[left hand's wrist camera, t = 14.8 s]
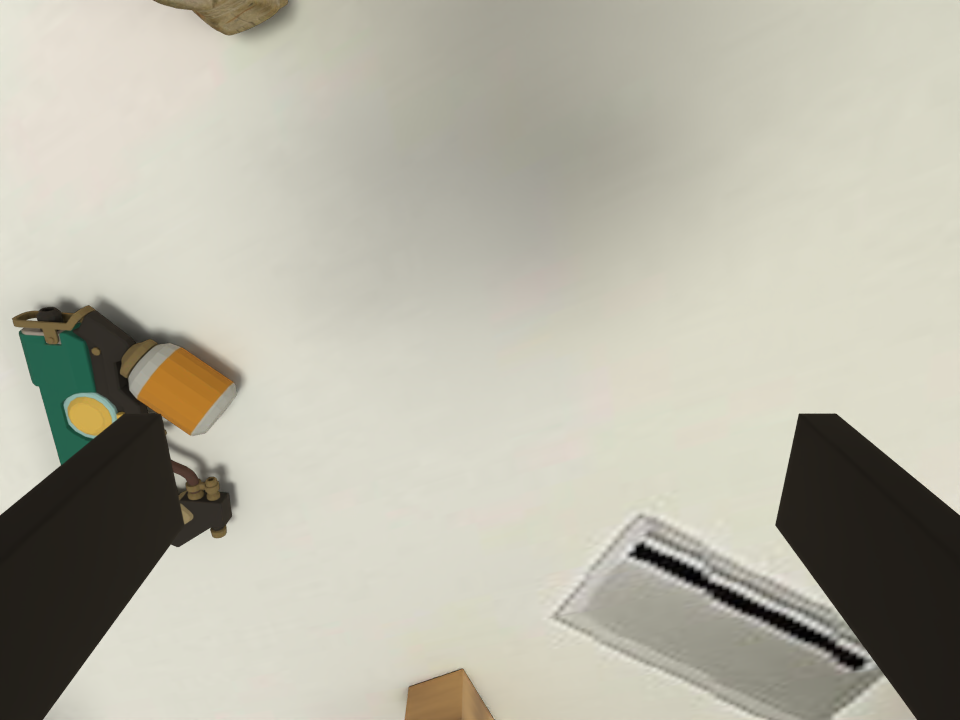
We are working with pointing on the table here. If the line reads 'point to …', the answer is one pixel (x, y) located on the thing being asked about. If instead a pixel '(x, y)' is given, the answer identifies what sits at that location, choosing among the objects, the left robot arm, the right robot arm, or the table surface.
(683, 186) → the table surface
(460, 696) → the bar
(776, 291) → the table surface
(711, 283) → the table surface
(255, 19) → the sculpture
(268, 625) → the table surface
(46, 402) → the spray gun
